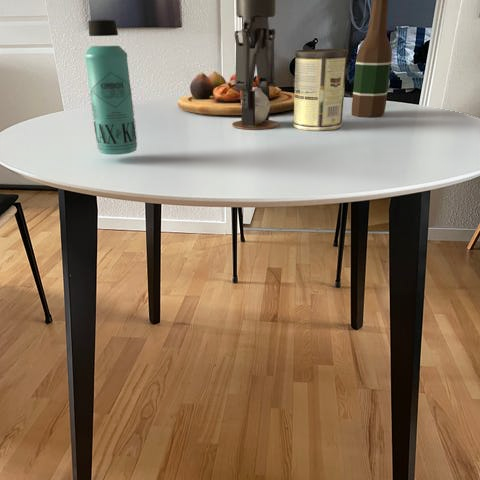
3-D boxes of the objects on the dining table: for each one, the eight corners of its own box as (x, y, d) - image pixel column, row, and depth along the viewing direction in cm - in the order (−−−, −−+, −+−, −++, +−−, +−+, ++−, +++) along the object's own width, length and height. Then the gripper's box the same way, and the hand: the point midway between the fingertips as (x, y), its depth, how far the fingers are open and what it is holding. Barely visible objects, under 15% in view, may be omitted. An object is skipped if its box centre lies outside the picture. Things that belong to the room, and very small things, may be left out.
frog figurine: (260, 119, 110) (260, 85, 107) (276, 124, 105) (276, 88, 101) (235, 122, 108) (234, 87, 104) (250, 127, 103) (250, 90, 99)
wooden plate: (306, 117, 114) (308, 77, 110) (168, 118, 115) (165, 79, 111) (298, 97, 141) (300, 65, 137) (187, 99, 143) (185, 66, 138)
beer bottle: (353, 117, 113) (366, -9, 100) (348, 112, 119) (359, -8, 107) (388, 117, 113) (405, -10, 100) (381, 111, 119) (396, -9, 107)
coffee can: (306, 120, 111) (309, 48, 104) (349, 124, 106) (356, 49, 99) (283, 128, 104) (285, 51, 96) (328, 132, 99) (335, 52, 91)
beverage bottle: (93, 159, 83) (70, 19, 73) (129, 153, 87) (112, 18, 76) (109, 166, 79) (88, 19, 68) (147, 159, 82) (131, 18, 72)
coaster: (286, 123, 109) (286, 121, 108) (267, 131, 101) (267, 129, 101) (245, 119, 113) (245, 118, 112) (224, 127, 105) (223, 125, 105)
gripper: (259, -5, 103) (259, 114, 115) (213, -8, 89) (218, 128, 101) (293, -7, 100) (289, 116, 112) (251, -10, 86) (251, 131, 98)
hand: (255, 121), depth 106 cm, fingers closed on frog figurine, 6 cm apart
